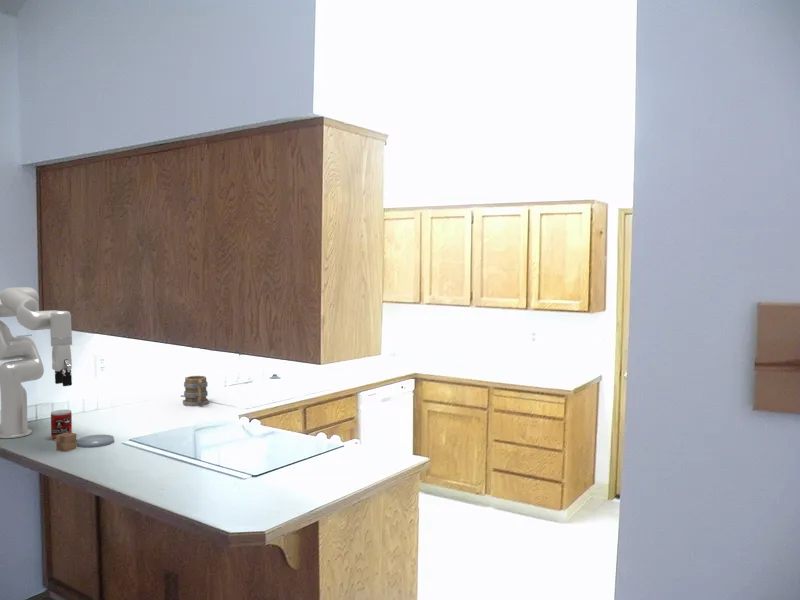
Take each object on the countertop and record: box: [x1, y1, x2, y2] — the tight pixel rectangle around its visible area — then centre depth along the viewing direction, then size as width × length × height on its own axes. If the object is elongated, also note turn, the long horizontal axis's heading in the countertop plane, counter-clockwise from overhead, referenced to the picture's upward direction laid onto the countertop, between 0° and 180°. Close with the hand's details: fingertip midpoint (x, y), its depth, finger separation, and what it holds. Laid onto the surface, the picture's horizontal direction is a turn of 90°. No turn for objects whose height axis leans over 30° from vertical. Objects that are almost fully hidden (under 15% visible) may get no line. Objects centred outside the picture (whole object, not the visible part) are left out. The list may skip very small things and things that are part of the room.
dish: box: [76, 434, 115, 449], centre depth 264 cm, size 14×14×2 cm
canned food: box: [50, 409, 73, 441], centre depth 271 cm, size 8×8×11 cm
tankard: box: [182, 375, 210, 407], centre depth 335 cm, size 20×13×15 cm, turn 25°
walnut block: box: [55, 432, 77, 453], centre depth 254 cm, size 5×5×6 cm
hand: (63, 384), depth 257 cm, fingers open, 9 cm apart
